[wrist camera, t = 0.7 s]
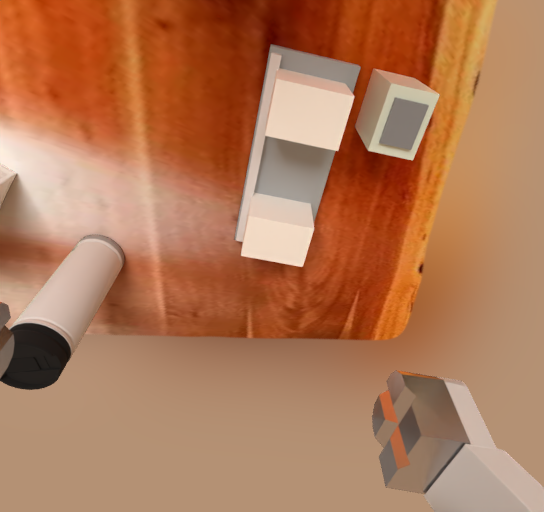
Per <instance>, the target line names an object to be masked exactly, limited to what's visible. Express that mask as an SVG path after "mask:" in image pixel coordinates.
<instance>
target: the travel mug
mask: <svg viewBox="0 0 544 512" xmlns="http://www.w3.org/2000/svg"><path fill="white" fill-rule="evenodd" d="M123 265H124V254H123V251H122V249H121V248H120V247H119V245H118V244H117V243H116V242H114V241H113V240H111V239H109V238H108V237H105V236H101V235H89V236H86V237H84V238H82V239H81V240H80V241H79V242H78V243H77V245H76V246H75V247H74V248H73V250H72V251H71V252H70V253H69V255H68V256H67V257H66V258H65V260H64V261H63V262H62V263H61V265H60V266H59V267H58V268H57V270H56V271H55V272H54V273H53V275H52V276H51V277H50V278H49V280H48V281H47V282H46V283H45V285H44V286H43V287H42V288H41V290H40V291H39V292H38V293H37V295H36V296H35V297H34V298H33V300H32V301H31V302H30V303H29V305H28V306H27V307H26V308H25V310H24V311H23V312H22V313H21V315H20V316H19V317H18V318H17V320H16V321H15V322H14V323H13V325H12V326H11V327H10V329H9V330H10V331H11V332H12V333H13V335H14V352H13V356H12V358H11V361H10V363H9V366H8V368H7V369H6V371H5V372H4V374H3V375H2V376H1V378H0V381H2V382H3V383H5V384H7V385H9V386H12V387H15V388H20V389H29V390H32V389H40V388H45V387H47V386H50V385H51V384H53V383H54V382H56V381H57V380H58V378H59V376H60V374H61V373H62V371H63V369H64V368H65V366H66V364H67V362H68V361H69V360H70V358H71V356H72V354H73V353H74V351H75V349H76V348H77V346H78V344H79V342H80V340H81V339H82V337H83V335H84V334H85V332H86V330H87V328H88V327H89V325H90V323H91V321H92V320H93V318H94V316H95V314H96V313H97V311H98V309H99V307H100V305H101V304H102V302H103V300H104V298H105V297H106V295H107V293H108V291H109V290H110V288H111V286H112V284H113V283H114V281H115V279H116V277H117V276H118V274H119V272H120V270H121V269H122V267H123Z"/></svg>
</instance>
